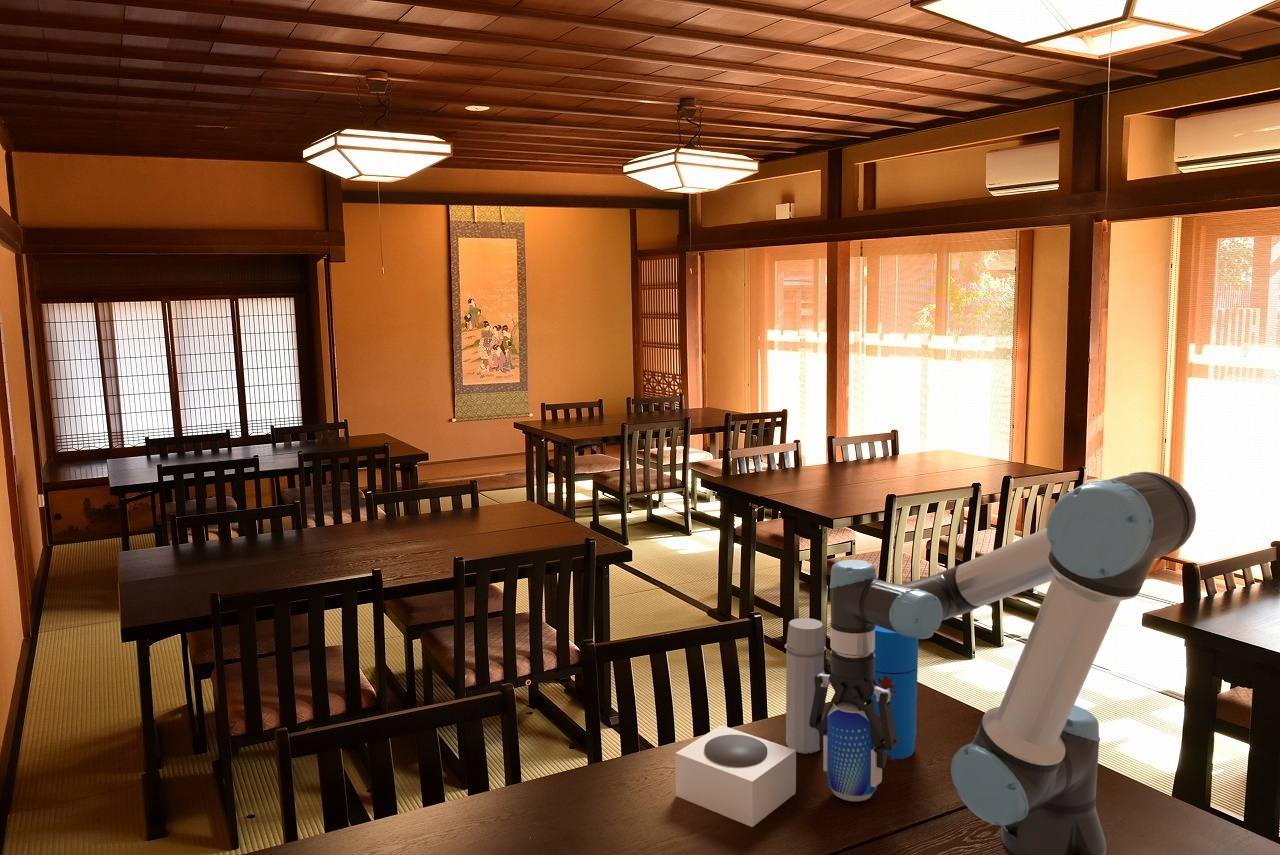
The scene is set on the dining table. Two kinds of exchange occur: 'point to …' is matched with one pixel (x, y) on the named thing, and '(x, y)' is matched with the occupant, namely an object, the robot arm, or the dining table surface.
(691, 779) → the white block with disc
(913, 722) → the thermos
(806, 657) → the water bottle
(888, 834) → the dining table surface
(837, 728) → the beer can
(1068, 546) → the robot arm
